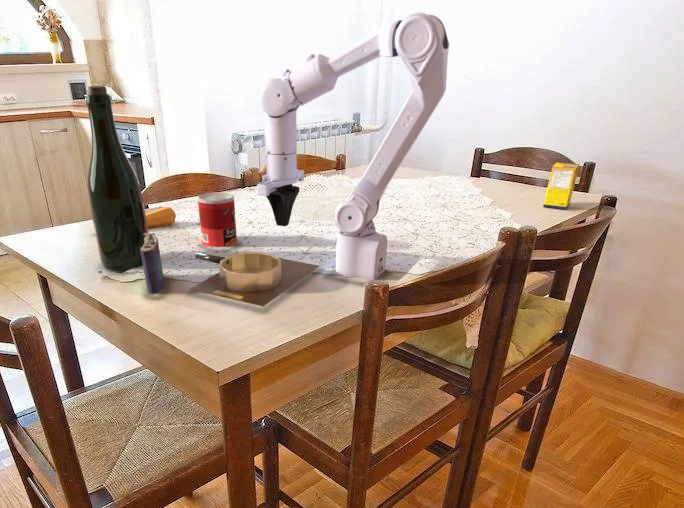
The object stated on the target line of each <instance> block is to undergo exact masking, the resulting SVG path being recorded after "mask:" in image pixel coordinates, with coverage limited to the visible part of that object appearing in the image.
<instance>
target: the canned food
mask: <svg viewBox="0 0 684 508" xmlns="http://www.w3.org/2000/svg"><path fill="white" fill-rule="evenodd" d="M197 207H198V216H199V225H200V226H199V227H200V235H201V236H200V237H201V243H202V244H203V245H204V246H206V247H211V248H223V247H230V246H233V245H235V244H236V243H237V242H238V240H237V238H238V237H237V221H236V205H235V197H234V194H232V193H229V192H222V191H214V192H213V191H211V192H205V193H201V194H199V195H198V196H197Z"/></svg>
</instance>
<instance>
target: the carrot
mask: <svg viewBox="0 0 684 508" xmlns="http://www.w3.org/2000/svg"><path fill="white" fill-rule="evenodd" d="M145 214H146V219H147V225H148V229H150V228H156V227H165V226H171V225H172V224H174V223H175V222H176V218H177V214H176V212H175V210H173V208H172V207H171V206H163V207H160V208H157V209H155V210H152V211H150V212H147V213H145Z"/></svg>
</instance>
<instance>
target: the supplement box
mask: <svg viewBox="0 0 684 508" xmlns="http://www.w3.org/2000/svg"><path fill="white" fill-rule="evenodd" d="M579 169H580V163H570V162H569V163H567V162H555V164H553V165H552V167H551V172H550V176H549V180H548V184H547V188H546V193H545V196H544V201H543V208H551V209H559V210H565V211H566V210H567V209H568V207H569V206H570V203H571V200H572V196H573V192H574V188H575V184H576V180H577V177H578V173H579Z"/></svg>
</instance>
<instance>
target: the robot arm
mask: <svg viewBox="0 0 684 508" xmlns="http://www.w3.org/2000/svg"><path fill="white" fill-rule="evenodd" d="M449 50H450V42H449V38H448V34H447V30H446V26H445V24H444V22H443V21H442V20H441V18H439V17H438V16H436V15H433V14H427V13H425V12H413V13H410V14H409V15H408V16H406V17H405V18H403V19H398V20H395V21H391V22H390V23H388V24H386V25H383V26H381V27H379V28H377V29H375V30H374V31H372V32H371V33H369V34H368V35H365V36H364V37H362V38H361V39H359V40H358V41H356V42H354V43H353V44H351V45H349V46H348V47H346V48H345V49H343V50H340V51H339V52H338V53H336V54H334V55H333V56H331V57H328V56H326V55H323V54H321V53H320V54H319V53H318V54H317V55H315V54H314V53H311V54H309V55H307V56H306V57H304V59H305V62H303V63H301V64H300V65H298V66H296V67H294V68H293V69H288V68H287V69H285V70H283V71H282V72H281V74H282V75H281V78H276V77H273V78H269V79H268V80H267V81H266V82H265V83H264V84H263V85H262V86H261V88H260V90H259V93H258V94H259V95H258V99H259V100H258V102H259V105H260V108H261V109H262V111H263V112H264V122H265V123H264V126H265V127H264V130H265V131H264V132H265V133H264V135H265V160H266V161H265V162H266V174H262V175H261V179H262V181H261V182H259V183H257V185H256V187H257V188H256V189H257V196H262V197H263V196H264V197H266V198H267V200H268V203H269V205H270V207H271V210H272V213H273V217H274V220H275V224H276V226H280V227H287V226H289V225H290V220H291V216H292V212H293V207H294V204H295V202H296V199H297V196H298V195H299V193H300V187H299V186H297V185H293V184H296V183H298V182H303V181H305V170H304V169H298V167H297V166H298V164H297V163H298V161H297V160H298V158H297V157H298V156H297V155H298V154H297V153H298V152H297V151H298V150H297V149H298V148H297V147H298V146H297V145H298V144H297V143H298V140H297V139H298V138H297V137H298V135H297V133H298V132H297V130H298V129H297V125H298V124H297V111H298V109H299V108H300V107H302V106H304V105H306V104H308V103H310V102H312V101H314V100H316V99H317V98H320V97H322V96H324V95H325V94H327V93H329V92H331V91H333V90H334V89H335V87H336V84H337V81H338V79H339V77H341V76H344V75H345V74H348V73H351V72H352V71H354V70H356V69H358V68H360V67H362V66H364V65H366V64H368V63H370V62H373V61H374V60H376V59H378V58H381V57H386V58H396V57H397V58H398V57H399V59H400V60H401V62H402V63H403V64H404V66H405V68H406V69H407V74H408V78H409V82H410V86H411V91H410V94H409V95H408V97H407V99H406V101H405V102H404V104H403V106H402V108H401V109H400V111H399V114H398V115H397V116H396V118H395V120H394V122H393V123H392V125H391V127H389V130H388V132H387V134H386V136H385V137H384V139H382V142H381V143H380V146H379V147H378V149H377V151H376V152H375V154H374V156H373V158H372V159H371V161H370V163H369V164H368V166H367V168H366V170H365V171H364V173H363V175H362V176H361V178H360V180H359V181H358V182H357V184H355V186H354V188H353V189H352V190H351V192H350V194H349V195H348V197H347V198H346V199H344V200H342V201H341V202H340V203H339V204H338V205H337V206H336V208H335V209H334V213H333V220H334V224H335V225H336V246H335V247H336V248H335V251H336V252H335V272H336V273H337V274H338V275H341V276H344V277H350V278H360V279H366V280H371V281H373V280H372V279H375V280H376V279H377V278H378V277H379V276H381V275H382V274H383V273H384V272H386V266H387V265H386V264H387V253H388V237H387V235H386V234H383V233H380V232H378V231H376V226H375V223H374V221H373V219H374V218H375V217H376V216H377V215H378V213H379V209H380V202H381V199H382V197H383V196H384V194H385V192H386V189H387V187H388V185H389V184H390V182H391V181H392V179H393V177H395V174H396V172H397V171H398V169H399V168H400V166H401V164H403V162H404V160H405V158H406V156H407V155H408V154H409V152H410V150H411V149H412V147H413V145H414V143H415V142H416V140H417V139H418V138H419V136H420V134H421V133H422V132H423V129H424V128H425V126H426V124H427V123H428V121H429V120H430V119H431V116H432V114H433V113H434V112H435V110H436V108H437V107H438V105H439V104H440V102H441V100H442V99H443V97H444V95H445V93H446V90H447V78H448V62H449V61H448V59H449Z"/></svg>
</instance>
